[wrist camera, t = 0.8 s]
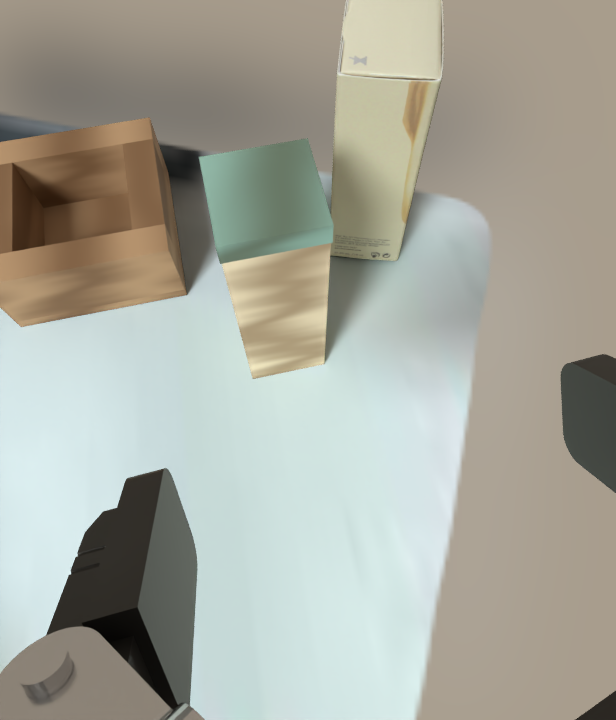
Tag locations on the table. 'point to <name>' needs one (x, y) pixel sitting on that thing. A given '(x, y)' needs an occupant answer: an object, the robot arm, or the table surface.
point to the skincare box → (382, 120)
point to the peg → (273, 251)
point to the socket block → (86, 223)
